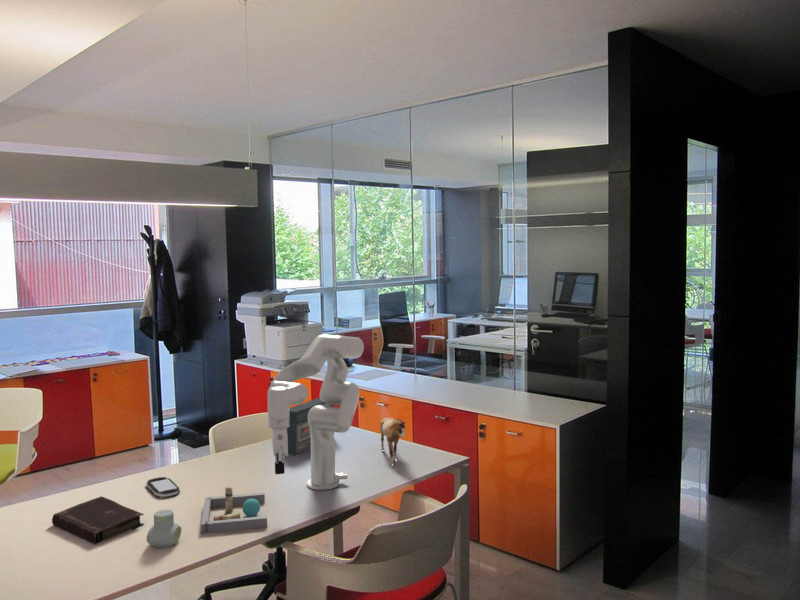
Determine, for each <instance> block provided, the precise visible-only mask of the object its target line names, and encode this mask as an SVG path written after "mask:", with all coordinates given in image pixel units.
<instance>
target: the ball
mask: <svg viewBox="0 0 800 600" xmlns="http://www.w3.org/2000/svg"><path fill="white" fill-rule="evenodd" d="M241 510H242V512H243V514H244V515H246V516H247V517H256V516H257V515H258V514H259V512H260V510H261V503H259V502H258V501H257V500H256V499H248V500H246V501H245V502H244V504H242V509H241Z"/></svg>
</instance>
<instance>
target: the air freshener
mask: <svg viewBox="0 0 800 600" xmlns="http://www.w3.org/2000/svg"><path fill="white" fill-rule="evenodd" d="M174 514H175V513H174V511H173V510H171V509H161V510H158V511H156V512H155V513H154V514H153V525H152V526H151V527H150V528H149V530H148V532H147V535H146V543H148V545H150V546H152V547H154V548H168V547H171V546H173V545H174V544H176V543H177V542H178V541H179V540H180V537H181V535H182V527H181V525H179V524H178V523H176V522H175V519H174V518H175V516H174Z"/></svg>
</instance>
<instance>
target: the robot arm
mask: <svg viewBox="0 0 800 600" xmlns="http://www.w3.org/2000/svg"><path fill="white" fill-rule="evenodd" d="M364 344H365V343H364V341H363V340H362V339H361V338H360V337H356V336H355V337H354V336H346V335H345V336H344V335H335V334H319V335H317V336H316V337H315V338H314V339H313V340H312V342H311V344H310V345H309V347H307V349H306V351H305V352H304V353H303V355H302V356H301V358H300V359H298V360H296V361H294V362H292V363H290V364H288V365H287V366H285V367H284V368H282V369H281V370H280V371H279V372H278V373H277V374H276V375H275V377H274V379H273V380H272V381H271V382H270V384H269V388H268V390H267V428H269V429H270V430H271V444H272V452H273V456H274V457H275V460H274V474H275V475H283V474H285V461H284V460H285V456H286V457H288V456H289V454H288V435H287V428H288V427H289V426H290V408H291V406H297V405H300V404H303V403H305V402H306V400H307V398H308V396H309V390H308V388H307V386H306V385H305V384H302V383H300V382H295V381H297V380H301V379H304V378H309V377H311V376H315V375H317V374H318V373H319V372H320V371H321V370H322V369H323V367H324V366H325V363H326V362H327V363H326V364H327V367H326V372H325V375H324V378H323V380H322V381H323V382H322V384H321V387H320V391H319V398H320V399H321V401H323V402H325V403H328V404H334V407H333V406H326V405H316V406H314V407H312V408H311V409H310V410H309V412H308V424H309V429H310V437H311V449H310V478H309V479H308V480H307V481H306V485H307V487H308V488H309V489H312V490H315V491H328V489H329V490H333V489H335V488H337V487H339V485H340V480H347V479H348V474H347V473H345V474H344V473H343V472H339V473H338V472H337V471H336V440H335V434H334V435H333V433H332V432H334V433H340V434H341V433H346V432H348V431H349V430H350V428H351V426H352V423H353V420H354V416H355V413H356V410H357V407H358V403H359V400H360V389H359V386H358V384H356V383H355V382H353V381H347V377H348V373H349V370H348V369H349V368H348V366H347V364H346V361H345V360H344V359H359V358H360V357H361V356H362V355H363V352H364V349H365V347H364V346H365V345H364ZM335 405H336V406H335ZM338 406H339V407H338ZM332 488H333V489H332Z"/></svg>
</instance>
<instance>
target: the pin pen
mask: <svg viewBox="0 0 800 600" xmlns="http://www.w3.org/2000/svg"><path fill="white" fill-rule="evenodd" d="M232 497H233V506H241V504H242V505H243V504H244V502H245V501H246V500H248V499H256V500H257V501H258V502H259V504H261V503H263V504H264V503H266V500H265V498H266V496H265V492H255V493H254V492H253V493H244V494H241V493H240V494H233V495H232ZM217 507H218V508H219V507H226V498H225V495H220V496H210V497H209V496H208V497H207V496H206V497H204V503H203V509H202V510H203V511H202V516H201V525H200V526H201V534H210V533H217V532H219V533H220V532H229V531H236V530H237V531H239V530H240V531H241V530H248V529H260V528H267V527H268V516H267V515H262V516H261V515H260V516H252V517H249V516H247V517H240V518H238V519H228V520H217V521H214V520H210V517H211V508H217Z"/></svg>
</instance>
